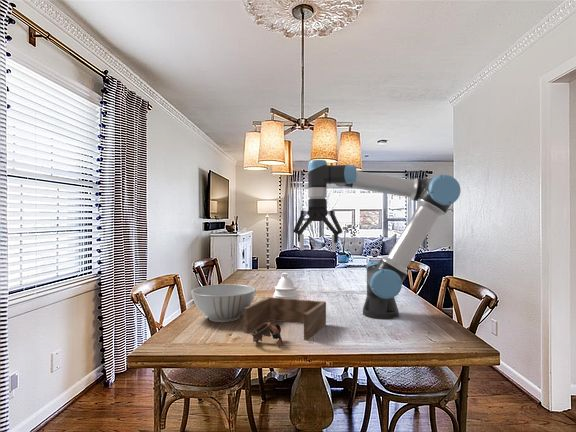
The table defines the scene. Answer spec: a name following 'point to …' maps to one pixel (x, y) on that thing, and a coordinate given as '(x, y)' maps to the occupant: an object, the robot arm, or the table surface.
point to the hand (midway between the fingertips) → (317, 250)
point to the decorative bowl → (223, 300)
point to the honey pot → (285, 288)
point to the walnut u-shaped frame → (286, 314)
